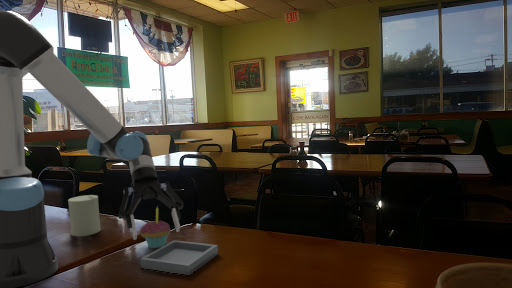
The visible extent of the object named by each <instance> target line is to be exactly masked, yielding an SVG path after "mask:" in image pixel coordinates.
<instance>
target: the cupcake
mask: <svg viewBox="0 0 512 288" xmlns="http://www.w3.org/2000/svg"><path fill="white" fill-rule="evenodd" d="M158 206H159V205H157V206H156V208H155V220H154V221H153V220H152V221H149V222H147V223H145V224H144V225H142V226H141V228H140V230H139V233H140V235H141V237H142V238H144V239H145V241H146V244H147V246H148V247H149V249H150V248H151V249H159V248H161V247H163V246H164V245H166V244H167V239H168V236H169V234H170V233H171V228H170V224H169V223H167V222H165V221H164V220H159V207H158Z"/></svg>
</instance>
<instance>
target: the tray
mask: <svg viewBox="0 0 512 288" xmlns="http://www.w3.org/2000/svg"><path fill="white" fill-rule="evenodd" d="M217 255H219V247H218V244H211V243H201V242H195V241H194V242H193V241H192V242H191V241H184V240H176V239H175V240H171V241H170V242H168V243H165V245H164V246H162V247H159V248H156V249H155V250H154V251H152V252H150V253H148V254H146V255H145V256H143V257H141V258H140V259H139V260H140V269H141V268H146V269H153V270H159V271H165V272H164V273H166V272H170V273H169V274H172V273H178V274H177V275H179V274H185V275H190V274H191V275H192V274H194V273H195V272H196V271H198V270H199V269H200V268H202V267H203V266H205V265H206V264H207V263H208V262H210V261H212V260H213V259H214V258H215V257H216V256H217ZM146 269H145V270H146ZM197 269H198V270H197ZM153 270H152V271H153ZM159 271H158V272H159ZM194 271H195V272H194ZM193 272H194V273H193ZM185 275H184V276H185ZM191 275H190V276H191Z"/></svg>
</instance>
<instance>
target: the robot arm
mask: <svg viewBox="0 0 512 288" xmlns="http://www.w3.org/2000/svg"><path fill="white" fill-rule="evenodd" d="M28 74H30V75H31V77H33V78H34V79H35V80H36V81H37V82H38V83H39V84H40V85H41V86H42V87H43V88H44V89H45V90H46V91H48V92H49V94H50V95H51V96H52V97H54V98H55V99H56V101H58V103H60V104H61V105H62V106H63V107H64V108H65V109H66V110H67V111H68V112H69V113H70V114H71V115H72V116H73V117H74V118H76V120H77V121H79V122H80V124H81V125H83V127H85V128H86V130H88V131H89V132H90V134H89V136H88V139H87V142H86V144H87V146H86V149H87V153H88V154H89V155H91V156H96V157H104V158H108V159H115V160H116V159H117V160H121V161H128V166H129V171H130V175H131V180H132V186H131V187H128V186H127V185H124V186H123V191H122V193H123V197H122V200H121V204H120V207H119V212H118V219H119V220H122V219H124V221H125V222H126V227H127V229H128V230H130V229H131V233H132V239H133V240H135V241H136V240H137V239H138V238H137V237H138V233H137V227H136V222H135V216H134V212H135V210H136V208H137V207H138V205H139V203H140V202H141V201H142V199H143V200H147V199H148V200H149V199H156V200H158V201H160V202H161V203H163V204H164V205H165V206H166V207H168V209H170V210H171V217H172V220H173V224H174V228H175V231H176V233H179V232H180V230H181V225H180V220H181V211H180V210H182V209H183V208H184V204H185V203H184V201H183V200H182V199H181V198H180V197H179V195H178V194H177V192H175V190H174V189H173V188H172V186H171V183H170V181H165V183H164V182H163V183H161V182H159V179H158V174H157V171H156V168H155V162H154V159H153V155H152V152H151V148H150V142H149V141H148V139H149V138H148V137H147V136H146V134H145V133H144V132H141V131H139V130H136V131H134V132H133V131H131V132H129V130H127V128H126V127H124V126H123V125H122V124H121V122H119V120H118V119H117V118H116V117H115V116H114V115H113V114H112V113H111V112H110V111H109V110H108V109H107V108H106V107H105V106H104V104H103V103H102V102H101V101H99V99H98V98H97V97H96V96H95V95H94V94H93V93H92V92H91V91H90V90H89V89H88V88H87V86H85V85H84V83H83V82H82V81H80V79H79V78H78V77H77V76H76V75H75V74H74V73H73V72H72V71H71V70H70V69H69V67H67V65H65V63H64V62H63V61H62V60H61V59H59V57H58V56H57V55H56V54H55V52H54V45H52V44H51V43H50V41H48V39H47V38H46V37H45V36H44V35H43V34H42V33H41V32H40V31H39V30H38V29H37V28H36V26H35V25H33V24H32V23H31V22H30V21H29V20H28V19H27V18H26V17H24V16H22V15H21V14H19V13H16V12H14V11H11V10H1V9H0V288H19V287H25V286H28V285H31V284H34V283H37V282H40V281H42V280H45V279H46V278H48V277H51V276H52V275H53V274H56V272H57V271H58V269H59V265H58V264H59V262H58V258H57V255H56V253H55V252H54V249H53V248H52V246H51V244H50V242H49V238H48V231H47V229H48V228H47V220H46V208H45V207H46V206H45V190H44V188H43V184H42V182H41V181H40V180H39V179H37V178H35V177H32V175H33V174H32V172H33V171H32V170H30V169H29V168H28V167H27V166H26V155H25V151H26V150H25V127H24V126H25V124H24V123H25V122H24V118H25V117H24V92H23V91H24V89H23V78H24V77H25V76H26V75H28ZM161 189H162V190H163V191H164V192H166V194H167V195H166V194H165V193H163V191H162V190H161ZM132 192H133V193H134V194H135V197H134V199H133V200H132V202H131V204H130V205H129V207H128V209H127V205H128V201H129V196H131V195H132ZM126 209H127V211H126Z"/></svg>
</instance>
